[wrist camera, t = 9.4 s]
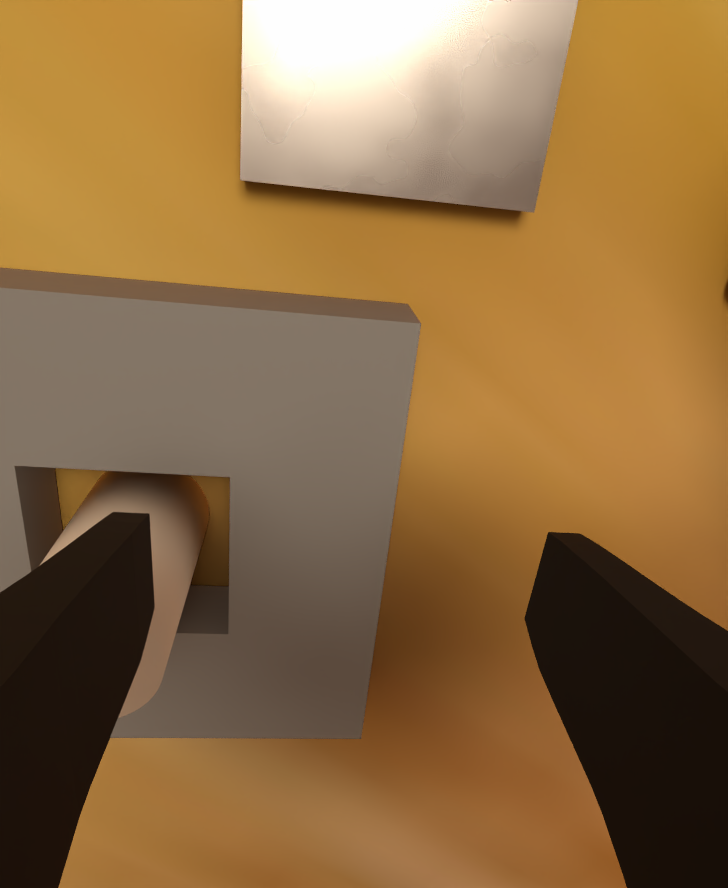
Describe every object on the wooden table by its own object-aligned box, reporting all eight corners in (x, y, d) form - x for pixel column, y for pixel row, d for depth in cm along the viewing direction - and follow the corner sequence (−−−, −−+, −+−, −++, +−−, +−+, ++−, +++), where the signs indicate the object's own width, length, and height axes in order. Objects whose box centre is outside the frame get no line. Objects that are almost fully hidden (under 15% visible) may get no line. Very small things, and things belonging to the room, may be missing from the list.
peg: (210, 464, 20) (163, 601, 14) (208, 561, 22) (165, 724, 15) (86, 454, 20) (-23, 592, 13) (93, 555, 21) (0, 720, 15)
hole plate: (407, 304, 18) (422, 325, 16) (356, 686, 25) (361, 743, 22) (-162, 253, 16) (-244, 268, 14) (-53, 680, 23) (-96, 741, 21)
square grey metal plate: (595, -152, 14) (614, -174, 13) (522, 209, 17) (534, 212, 16) (251, -216, 13) (246, -244, 12) (244, 179, 16) (240, 180, 16)
